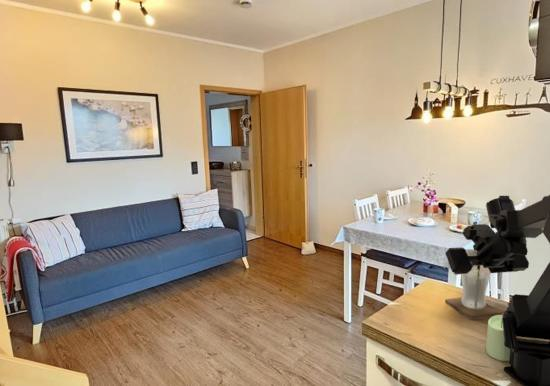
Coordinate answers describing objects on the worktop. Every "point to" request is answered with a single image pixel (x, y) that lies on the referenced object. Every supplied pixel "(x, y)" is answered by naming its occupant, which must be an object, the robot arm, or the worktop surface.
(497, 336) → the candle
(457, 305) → the walnut board
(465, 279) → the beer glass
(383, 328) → the worktop surface
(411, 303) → the worktop surface
